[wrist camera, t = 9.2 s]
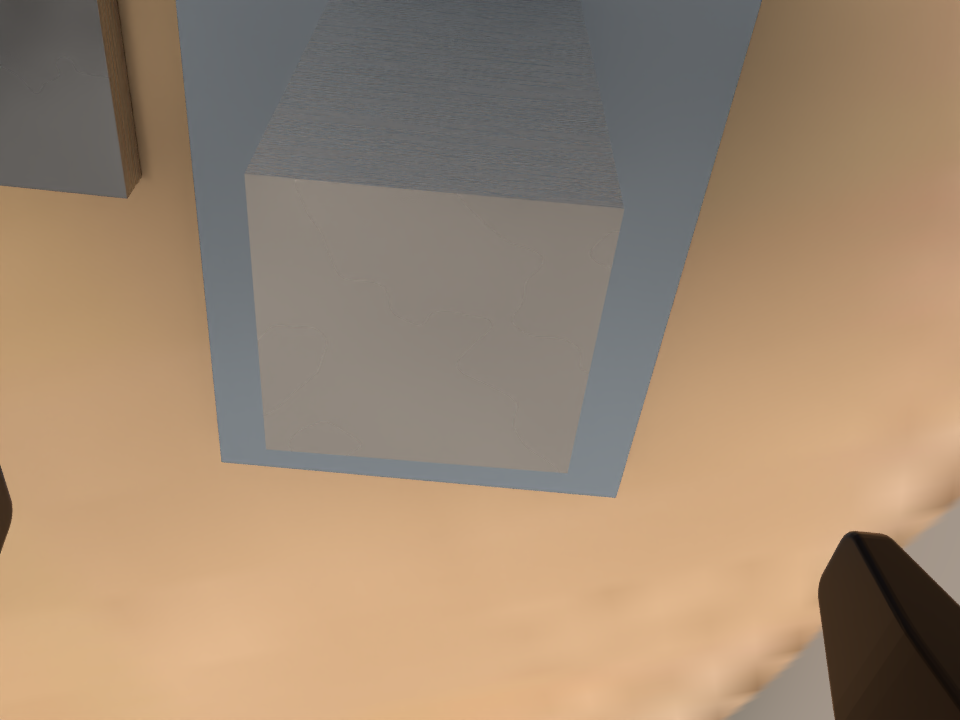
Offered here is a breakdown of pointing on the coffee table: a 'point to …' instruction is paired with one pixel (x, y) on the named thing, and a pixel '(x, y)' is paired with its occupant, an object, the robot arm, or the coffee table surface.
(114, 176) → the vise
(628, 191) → the slate board
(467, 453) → the steel bar
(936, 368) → the coffee table surface
